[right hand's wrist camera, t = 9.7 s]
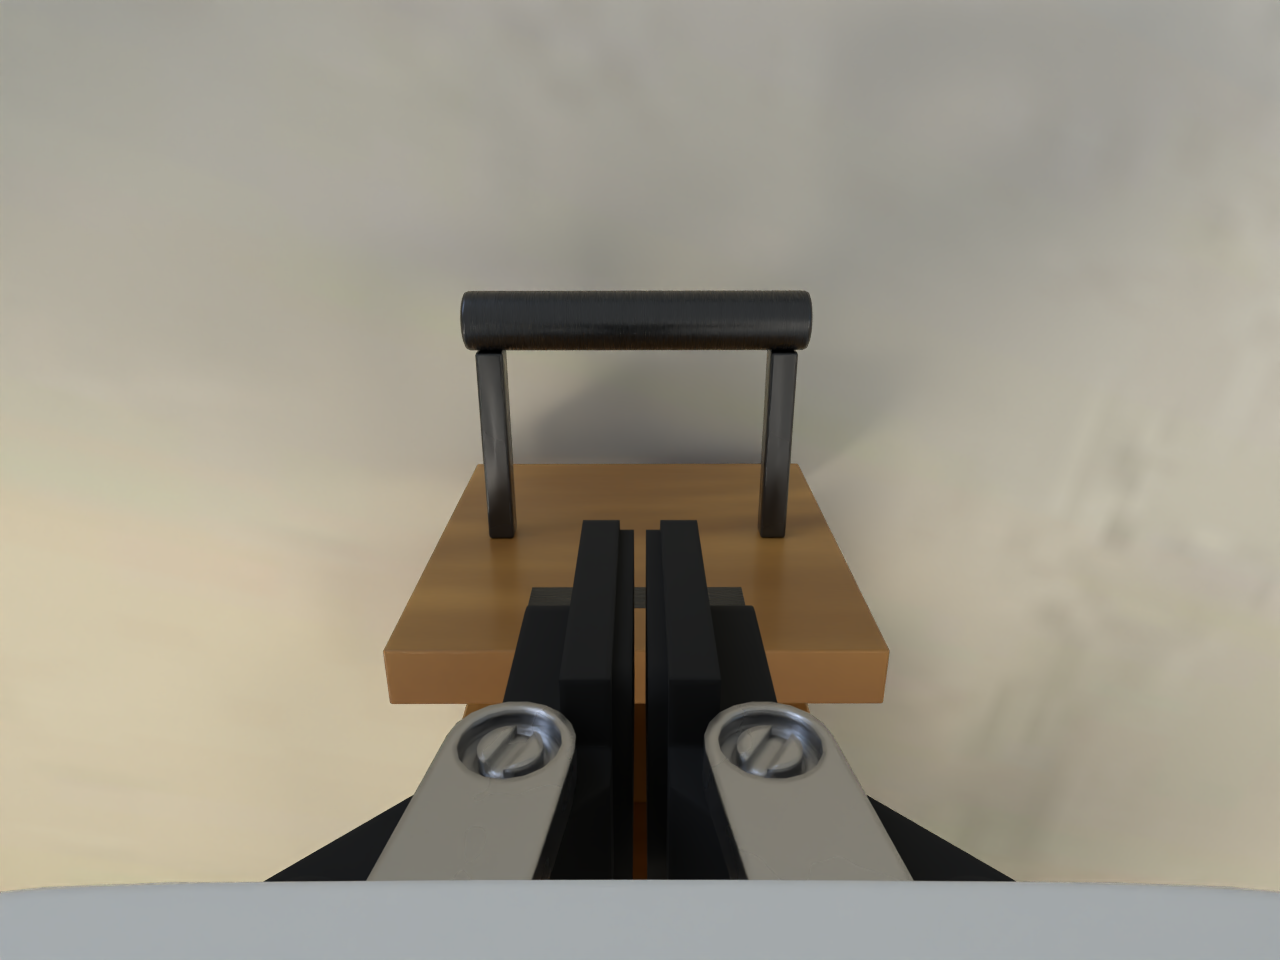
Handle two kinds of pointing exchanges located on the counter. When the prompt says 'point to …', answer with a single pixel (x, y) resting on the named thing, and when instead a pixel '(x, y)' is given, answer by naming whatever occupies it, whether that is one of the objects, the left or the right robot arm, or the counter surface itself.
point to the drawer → (635, 517)
